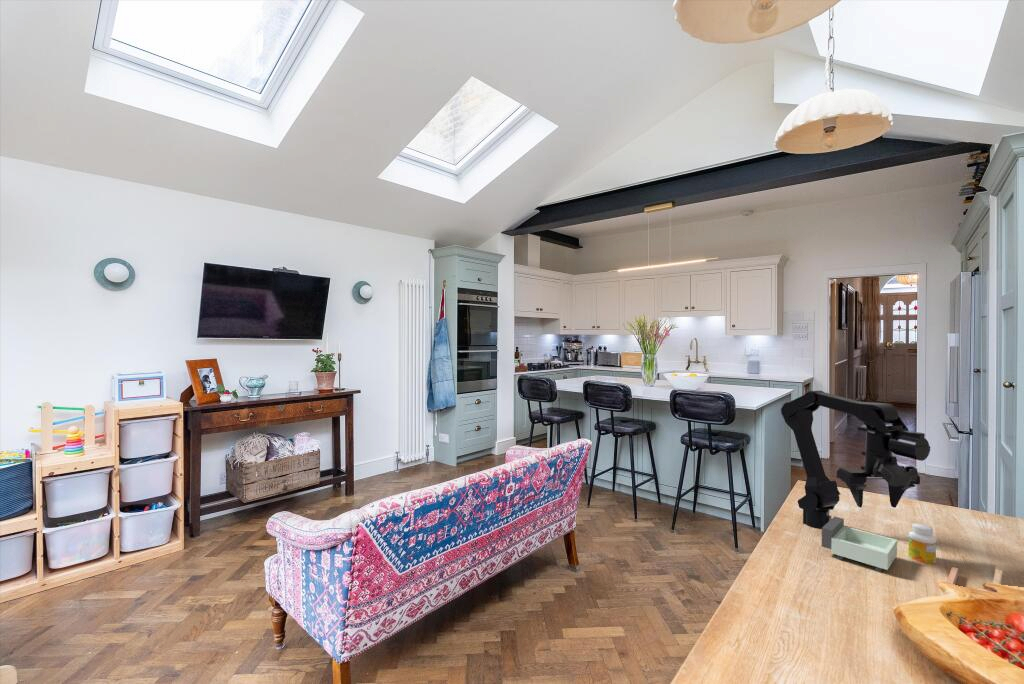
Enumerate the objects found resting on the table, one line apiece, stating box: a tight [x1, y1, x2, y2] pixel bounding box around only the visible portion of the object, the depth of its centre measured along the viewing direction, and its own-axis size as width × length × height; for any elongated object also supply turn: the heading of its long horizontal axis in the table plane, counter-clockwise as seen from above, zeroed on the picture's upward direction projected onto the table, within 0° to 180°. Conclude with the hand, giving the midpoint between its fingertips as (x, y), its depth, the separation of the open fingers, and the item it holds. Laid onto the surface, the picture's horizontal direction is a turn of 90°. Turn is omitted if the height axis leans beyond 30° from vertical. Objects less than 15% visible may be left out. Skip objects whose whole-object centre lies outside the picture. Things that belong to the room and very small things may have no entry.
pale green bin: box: [821, 516, 898, 573], centre depth 122 cm, size 14×12×7 cm
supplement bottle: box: [907, 522, 937, 565], centre depth 121 cm, size 5×5×10 cm
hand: (876, 507), depth 125 cm, fingers open, 9 cm apart
